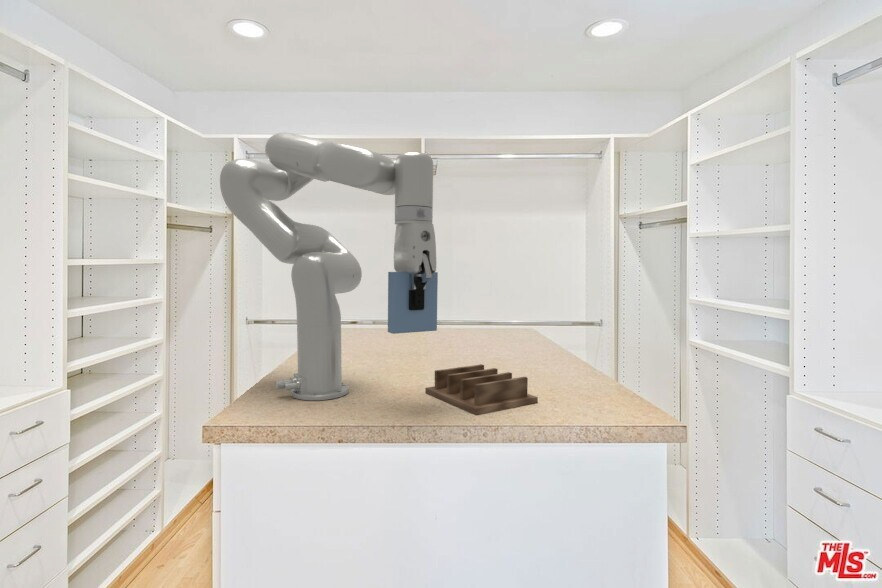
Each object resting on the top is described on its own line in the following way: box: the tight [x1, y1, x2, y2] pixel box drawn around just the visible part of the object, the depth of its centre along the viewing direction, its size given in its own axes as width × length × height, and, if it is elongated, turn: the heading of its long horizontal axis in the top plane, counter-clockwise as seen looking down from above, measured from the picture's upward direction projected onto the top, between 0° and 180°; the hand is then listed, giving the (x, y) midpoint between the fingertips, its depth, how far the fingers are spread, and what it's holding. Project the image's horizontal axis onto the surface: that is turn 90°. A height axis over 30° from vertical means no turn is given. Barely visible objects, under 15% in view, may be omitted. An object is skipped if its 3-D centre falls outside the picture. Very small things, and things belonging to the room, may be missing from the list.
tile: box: [387, 271, 439, 335], centre depth 99 cm, size 10×2×12 cm, turn 122°
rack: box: [424, 363, 539, 416], centre depth 106 cm, size 16×19×5 cm
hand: (412, 308), depth 99 cm, fingers closed on tile, 2 cm apart
